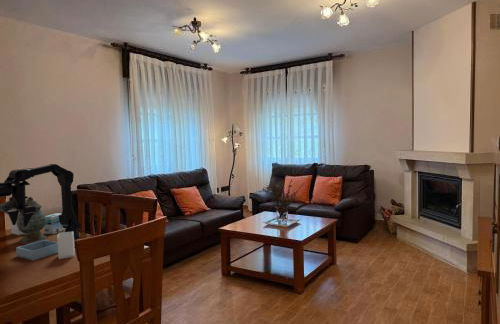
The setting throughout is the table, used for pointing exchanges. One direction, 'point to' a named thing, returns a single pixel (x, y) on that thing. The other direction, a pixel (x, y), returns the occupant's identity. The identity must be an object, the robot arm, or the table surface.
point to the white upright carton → (66, 245)
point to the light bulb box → (53, 224)
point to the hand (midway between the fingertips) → (19, 225)
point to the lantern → (32, 224)
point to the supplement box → (16, 229)
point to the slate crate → (37, 250)
